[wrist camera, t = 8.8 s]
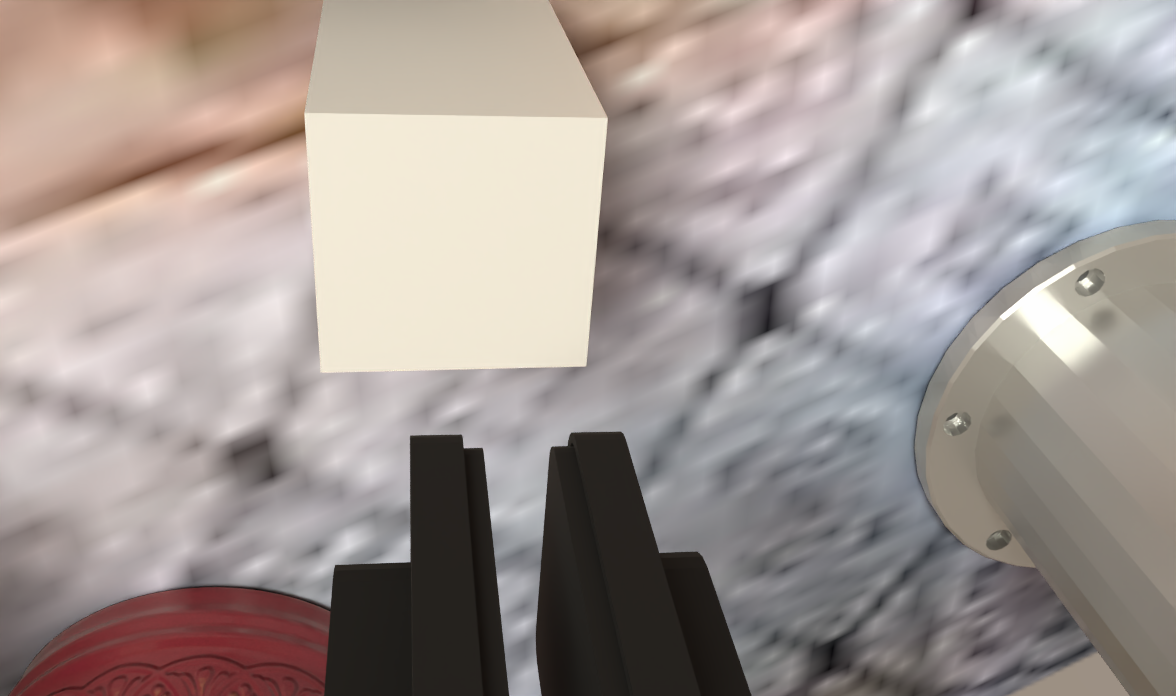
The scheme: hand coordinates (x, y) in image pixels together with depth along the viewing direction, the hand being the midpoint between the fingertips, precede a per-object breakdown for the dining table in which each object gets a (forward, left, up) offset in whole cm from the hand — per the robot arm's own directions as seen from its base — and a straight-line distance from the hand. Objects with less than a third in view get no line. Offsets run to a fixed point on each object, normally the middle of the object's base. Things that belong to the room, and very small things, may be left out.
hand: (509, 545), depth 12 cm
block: (0, 0, -17) cm, 17 cm away
